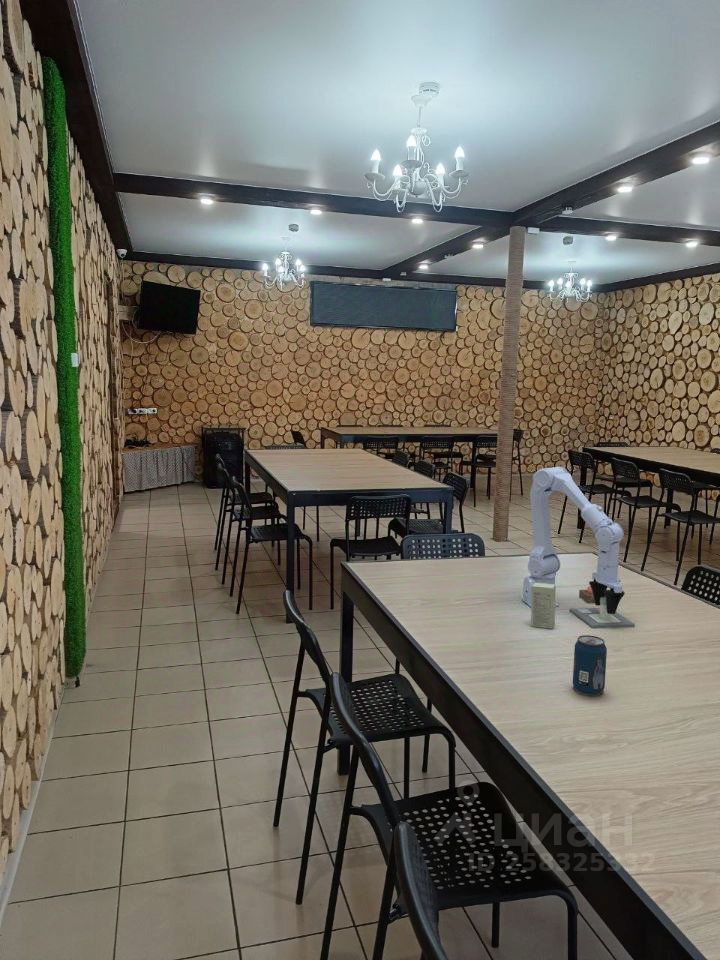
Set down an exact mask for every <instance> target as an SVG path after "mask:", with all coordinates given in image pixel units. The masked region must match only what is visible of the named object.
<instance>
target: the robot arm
mask: <svg viewBox="0 0 720 960" xmlns="http://www.w3.org/2000/svg"><path fill="white" fill-rule="evenodd" d="M554 491H556V492H561V493H563V494H564V495H565V496H566V497H567V498H568V499H569V500H570V501H571V502H572V503H573V504H574V505H576V507H577V508H578V509H579V510H580V517H581V518H582V519H583V520H584V522H585V523H586V524H587V525H588V526H589V527H590V529H591V530H592V532H593V533H594V536H595V540H596V542H597V545H598V546H597V548H598V551H597V566H596V567H597V569H596V572H592V575H591V578H592V581H591V580H590V581H589V582H588V584H589V586H591V588H592V591H593V595H594V601H595V603H594V604H595V606H596V607H598V606H599V607H600V598H601V597H606V603H607V613H608V614H615V613H616V612H617V609H618V606H619V604H620V602H621V599H622V598H623V597H624V596H625V594H626V593H625V591H624V590H623V586H622V585H621V582H622V581H621V580H622V579H620V578H619V577H618V574H619V573H618V572H619V559H620V558H619V556H620V542H621V541H622V540H623V539H624V536H625V534H624V529H623V528H622V526H621V524H619V523H616V522H614V521H613V519H611V518H609V517H608V515H607V514H606V513H605V512H604V511H603V507H602V506H601V505H598V504H597V503H596V504H595V503H591V502H590V501H589V500H588V498H587V497H586V495H585V494H584V493H583V492H582V490H581V489H580V488H579V487H578V485H577V484H576V483H575V481H574V480H573V477H572V475H571V473H569V472H568V471H567V469H566V468H565V467H563V466H555V467H554V466H553V467H548V468H547V467H545V468H544V467H542V468H540V469H538V470H537V471H536V472H535V473H534V474H533V475H532V484H531V488H530V490H529V498H530V508H531V509H530V511H531V521H532V522H531V523H532V535H533V548H532V550H530V553H528V554H529V560H528V563H527V569H528V572H529V574H530V575H528V576H525V577H524V579H523V584H522V597H521V600H522V601H523V602H524V603H525V604H526V605H528V606H529V607H530V608H531V605H532V585H533V584H534V583H545V584H555V585H556V576H557V572H558V571H559V570H560V568H561V561H560V559H559V556H558V551H557V549H555V547H554V546H553V542H552V530H551V517H550V505H549V497H550V495H552V493H554ZM608 588H609V589H608ZM559 606H560V604H558V603H557V602H556V601H555V607H559Z"/></svg>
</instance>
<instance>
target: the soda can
mask: <svg viewBox="0 0 720 960" xmlns="http://www.w3.org/2000/svg"><path fill="white" fill-rule="evenodd" d="M573 651H574V652H573V670H572V671H573V673H572V685H573V687H574V689H575V690H576V692H578V694H579V693H580V694H581V695H586V696H592V697H593V696H600V695H601V693H602V692H603V691H604V690H605V688H606V687H605V686H606V669H607V653H608V649H607V646H606V643H605V640H604V639H603V638H601V637H598V636H596V635H589V634H587V635H586V634H585V635H579V636H578V637H577V640H576V642H575V643H574V649H573Z"/></svg>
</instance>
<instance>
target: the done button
mask: <svg viewBox="0 0 720 960" xmlns="http://www.w3.org/2000/svg"><path fill="white" fill-rule="evenodd" d="M586 590H587V593H588V594H593V591H592V588H591V586H590V585H588V586H587V589H586Z"/></svg>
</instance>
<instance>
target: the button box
mask: <svg viewBox="0 0 720 960" xmlns="http://www.w3.org/2000/svg"><path fill="white" fill-rule="evenodd" d="M578 590H579V591H578V592H579V593H578V598H579V599H581V600H583V601H584V602H585V603H587V604H595V601H594V595H593V594H588V593H587V589H578Z"/></svg>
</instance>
